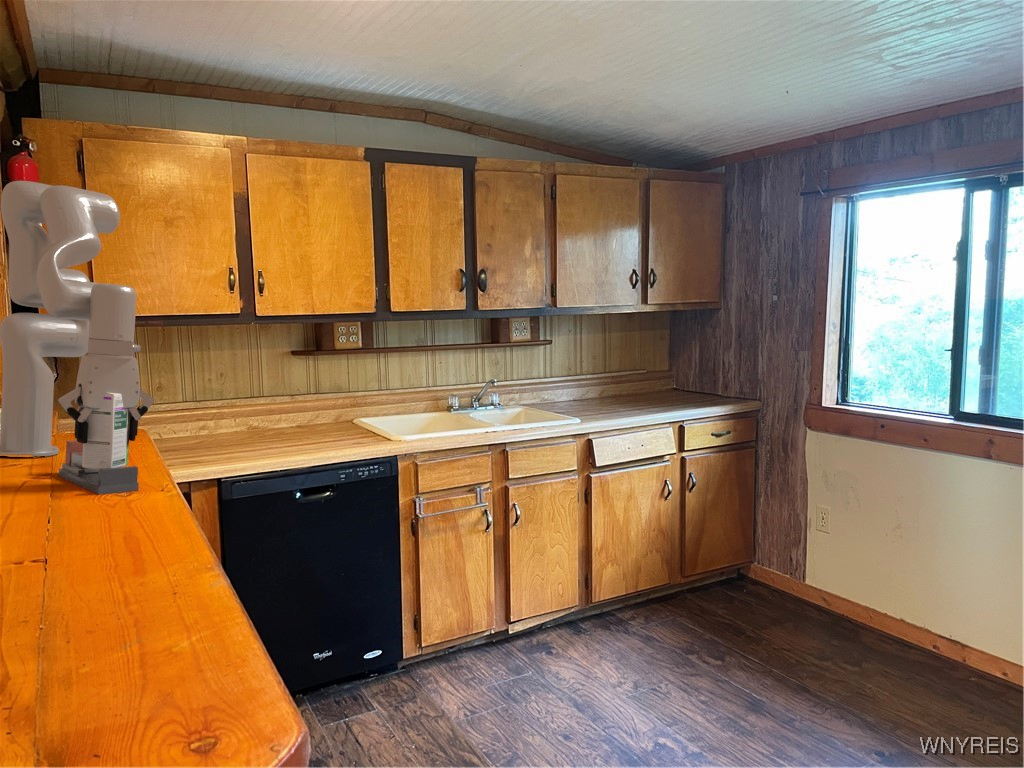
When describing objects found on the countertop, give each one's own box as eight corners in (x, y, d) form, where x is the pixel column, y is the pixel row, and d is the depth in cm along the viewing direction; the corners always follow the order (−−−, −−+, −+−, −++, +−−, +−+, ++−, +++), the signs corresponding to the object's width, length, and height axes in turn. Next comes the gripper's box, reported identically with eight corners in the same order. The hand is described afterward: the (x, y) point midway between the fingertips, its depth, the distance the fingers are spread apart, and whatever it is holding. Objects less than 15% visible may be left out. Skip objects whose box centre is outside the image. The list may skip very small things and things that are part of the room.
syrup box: (111, 470, 131) (115, 393, 131) (80, 467, 131) (84, 390, 131) (128, 465, 137) (132, 391, 136) (98, 463, 137) (102, 389, 136)
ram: (65, 465, 142) (66, 440, 142) (83, 463, 145) (85, 439, 144) (83, 473, 136) (84, 447, 136) (102, 471, 139) (103, 446, 139)
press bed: (58, 476, 139) (59, 453, 139) (96, 472, 145) (97, 451, 145) (98, 494, 128) (99, 470, 127) (138, 490, 133) (139, 467, 133)
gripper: (149, 350, 142) (144, 436, 143) (51, 346, 128) (47, 440, 129) (166, 353, 138) (161, 441, 138) (67, 348, 124) (62, 447, 125)
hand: (106, 440), depth 134 cm, fingers closed on syrup box, 8 cm apart
